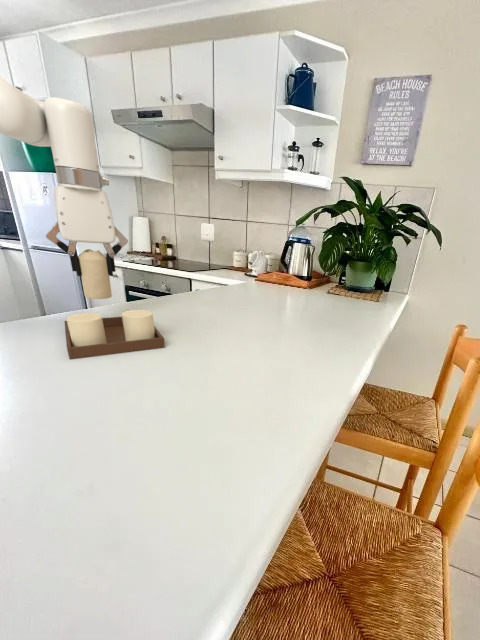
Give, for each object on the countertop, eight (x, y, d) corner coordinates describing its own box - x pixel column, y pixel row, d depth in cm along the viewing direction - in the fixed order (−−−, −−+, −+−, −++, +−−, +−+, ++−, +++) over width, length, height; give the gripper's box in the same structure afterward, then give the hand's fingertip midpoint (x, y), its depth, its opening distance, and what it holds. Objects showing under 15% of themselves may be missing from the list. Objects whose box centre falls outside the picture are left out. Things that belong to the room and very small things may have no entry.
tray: (70, 363, 57) (67, 348, 56) (67, 333, 69) (64, 320, 68) (165, 351, 65) (164, 338, 64) (147, 326, 78) (145, 314, 76)
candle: (80, 295, 74) (72, 248, 69) (105, 293, 78) (99, 248, 73) (90, 300, 71) (82, 251, 66) (116, 298, 75) (110, 252, 70)
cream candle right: (128, 348, 63) (124, 318, 60) (124, 339, 67) (119, 310, 64) (158, 344, 66) (155, 316, 63) (152, 336, 70) (149, 308, 67)
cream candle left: (74, 355, 58) (66, 322, 55) (73, 344, 62) (65, 314, 60) (109, 350, 61) (103, 320, 58) (105, 341, 65) (100, 312, 62)
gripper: (124, 187, 71) (133, 272, 79) (26, 174, 62) (48, 271, 71) (130, 187, 66) (139, 278, 74) (24, 172, 57) (48, 278, 65)
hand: (95, 274), depth 72 cm, fingers closed on candle, 5 cm apart
